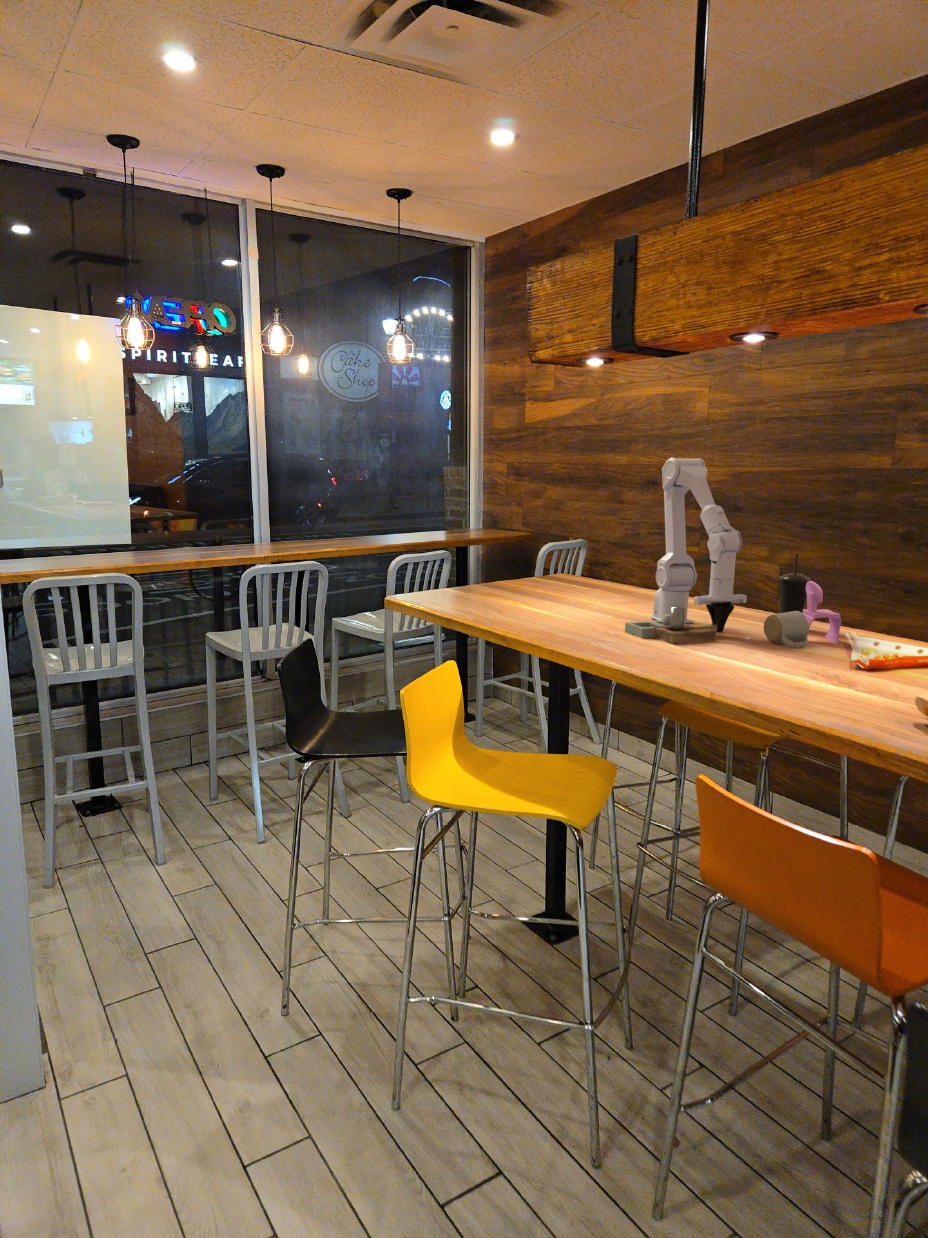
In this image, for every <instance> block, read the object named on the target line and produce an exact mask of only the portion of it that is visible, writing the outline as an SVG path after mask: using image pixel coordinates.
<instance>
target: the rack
mask: <svg viewBox="0 0 928 1238" xmlns="http://www.w3.org/2000/svg"><path fill="white" fill-rule="evenodd" d="M670 615H671V614H663V620H646V621H630V622H625V624H624V633H627V632H628V633H627V634H630V635H632V634H634V635H633V636H635V637H637V636H638V638H640V639H646V638H647V639H648V638H649V639H651V638H655V637H654V631H655V628H658V627H655V628H654V627H651V626H666V625H670ZM686 624H687V623H684V626H686ZM687 626H689V625H687ZM667 627H668V626H667ZM659 628H660V627H659ZM650 637H651V638H650Z"/></svg>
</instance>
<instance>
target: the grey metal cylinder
mask: <svg viewBox="0 0 928 1238" xmlns="http://www.w3.org/2000/svg"><path fill="white" fill-rule="evenodd" d="M684 618H685V607H682V606H671V615H670V631H673V632H678V631H684V624H685V623H684Z"/></svg>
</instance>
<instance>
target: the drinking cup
mask: <svg viewBox="0 0 928 1238" xmlns="http://www.w3.org/2000/svg"><path fill="white" fill-rule="evenodd" d="M794 556H795V557H794V568H793V572H792V573H791V572H790V573H786V574H783V575H781V576H778V577H779V578H778V580H779V581H780V583H779V585H780V586H779V590H780V591H779V595H780V597H779V601H780V602H779V603H780V604H779V605H780V607H779V608H780V609H779V611H780V612H779V613H785V612H792V611H799V612H801V613H803V609H805V606H806V605H805V604H806V601H807V593H806V584H807V582H808V581H811V578H810V577H807V576H806V575H804V574H803V573H799V572H797V571H798V561H799V553H795V555H794Z"/></svg>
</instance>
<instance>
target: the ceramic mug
mask: <svg viewBox="0 0 928 1238" xmlns="http://www.w3.org/2000/svg"><path fill="white" fill-rule="evenodd" d="M763 634H764V635H765V637H766V639H767V640H768V641H769V642H770V643H772V644H785V645H787V647H790V648H794V649H802V648H804V647H806V646H807V643H808V636H807V634H808V635H809V631H808V622H807V619H806V617H805V616H804V614H803V613H801V612H799V611H792V612H785V613H780V612H779V613H777V612H776V613H773V614H770V615H769V616H767V617H766V618H765V620H764V623H763ZM802 641H804V643H803V642H802Z"/></svg>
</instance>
